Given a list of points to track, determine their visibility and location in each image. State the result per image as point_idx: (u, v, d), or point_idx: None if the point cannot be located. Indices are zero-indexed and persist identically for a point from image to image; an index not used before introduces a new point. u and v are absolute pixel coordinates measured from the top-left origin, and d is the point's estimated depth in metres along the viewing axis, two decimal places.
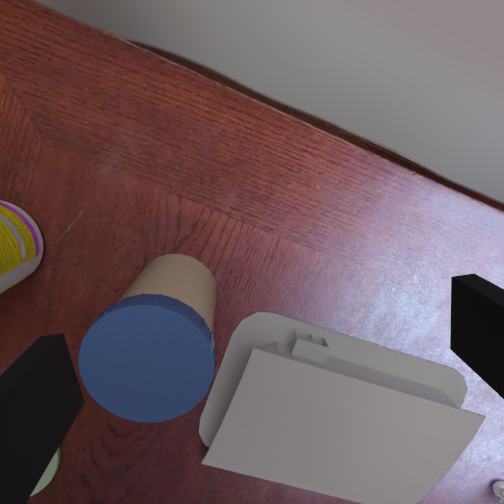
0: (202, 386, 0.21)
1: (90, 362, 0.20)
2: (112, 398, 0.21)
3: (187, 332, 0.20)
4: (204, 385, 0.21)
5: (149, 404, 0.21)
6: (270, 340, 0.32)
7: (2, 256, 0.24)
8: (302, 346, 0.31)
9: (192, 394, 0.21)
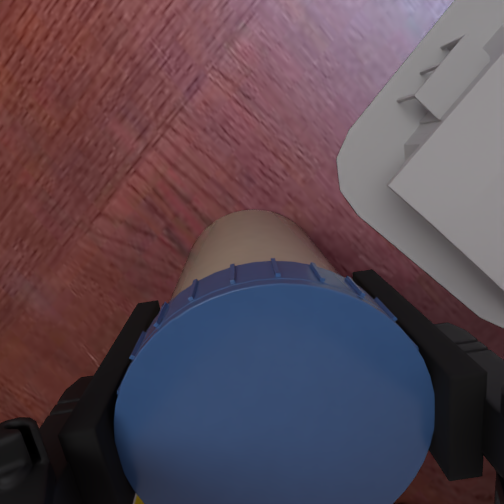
0: (384, 337, 0.08)
1: None
2: None
3: (222, 322, 0.08)
4: (384, 332, 0.08)
5: (373, 459, 0.09)
6: (399, 152, 0.17)
7: None
8: (435, 91, 0.15)
9: (394, 366, 0.08)
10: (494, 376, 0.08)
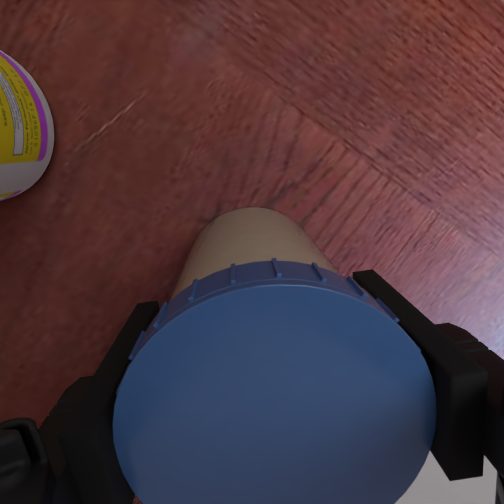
0: (386, 338, 0.08)
1: None
2: None
3: (223, 322, 0.08)
4: (385, 333, 0.08)
5: (373, 460, 0.09)
6: None
7: None
8: None
9: (395, 368, 0.08)
10: (494, 376, 0.08)
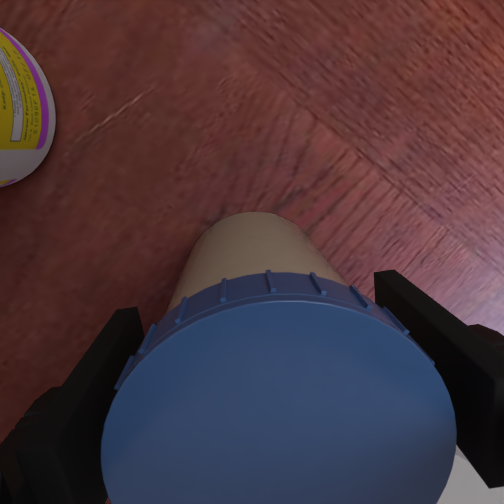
0: (395, 354, 0.07)
1: None
2: None
3: (213, 346, 0.07)
4: (395, 348, 0.07)
5: (389, 486, 0.08)
6: None
7: None
8: None
9: (408, 385, 0.07)
10: None
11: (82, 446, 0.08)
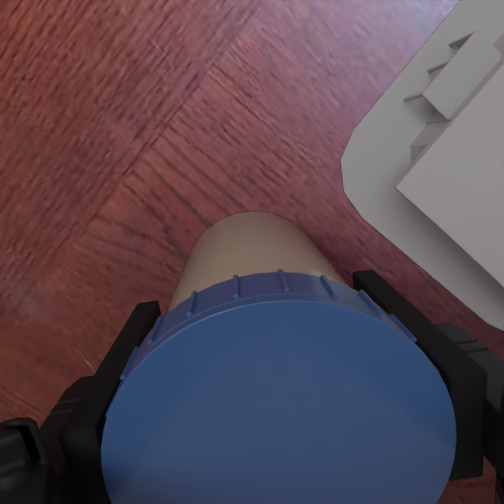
0: (158, 371, 0.07)
1: None
2: (411, 413, 0.07)
3: None
4: (152, 371, 0.07)
5: (329, 366, 0.07)
6: (406, 153, 0.17)
7: None
8: (443, 89, 0.14)
9: (196, 357, 0.07)
10: (494, 376, 0.08)
11: None
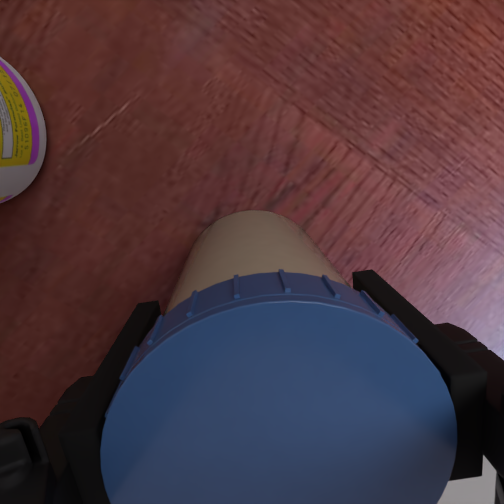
0: (158, 371, 0.07)
1: None
2: (412, 414, 0.07)
3: None
4: (152, 372, 0.07)
5: (330, 368, 0.07)
6: None
7: None
8: None
9: (197, 358, 0.07)
10: (494, 376, 0.08)
11: None
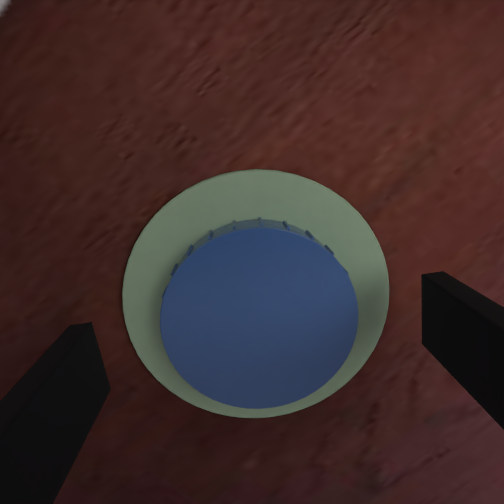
0: (193, 267, 0.13)
1: (330, 355, 0.14)
2: (331, 294, 0.13)
3: (183, 354, 0.14)
4: (189, 267, 0.13)
5: (284, 266, 0.13)
6: None
7: None
8: None
9: (213, 259, 0.13)
10: None
11: None
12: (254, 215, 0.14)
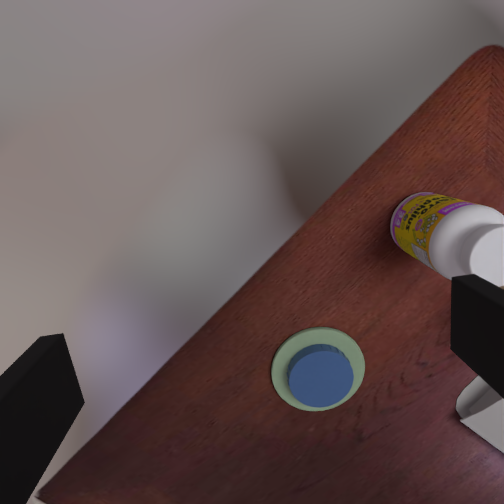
0: (301, 362, 0.41)
1: (344, 389, 0.42)
2: (344, 370, 0.41)
3: (295, 389, 0.42)
4: (300, 362, 0.41)
5: (330, 362, 0.41)
6: None
7: None
8: None
9: (307, 360, 0.41)
10: None
11: None
12: (318, 342, 0.42)
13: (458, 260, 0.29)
